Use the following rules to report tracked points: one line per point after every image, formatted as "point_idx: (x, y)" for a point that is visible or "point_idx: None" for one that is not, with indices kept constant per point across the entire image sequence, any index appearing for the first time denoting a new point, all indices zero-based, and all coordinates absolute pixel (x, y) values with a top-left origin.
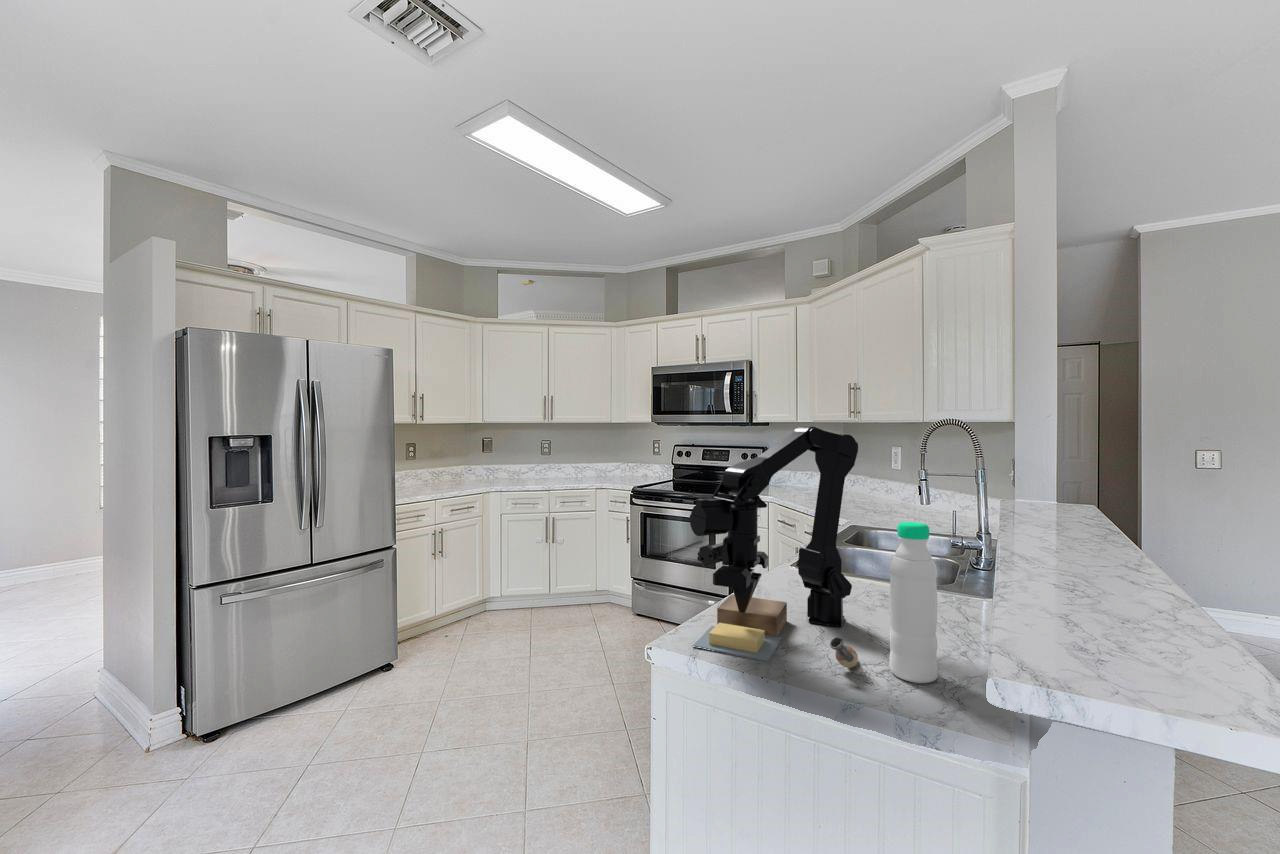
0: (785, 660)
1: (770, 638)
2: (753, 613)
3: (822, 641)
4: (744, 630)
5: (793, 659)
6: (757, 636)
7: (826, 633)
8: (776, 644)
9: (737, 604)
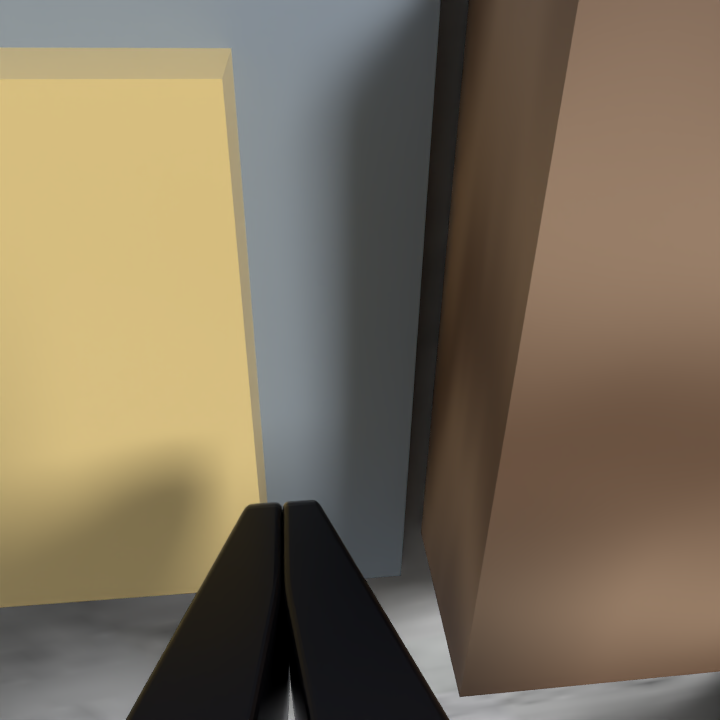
0: (38, 653)
1: (342, 527)
2: (494, 526)
3: (473, 709)
4: (133, 458)
5: (91, 676)
6: (58, 586)
7: (615, 698)
8: None
9: (185, 613)
